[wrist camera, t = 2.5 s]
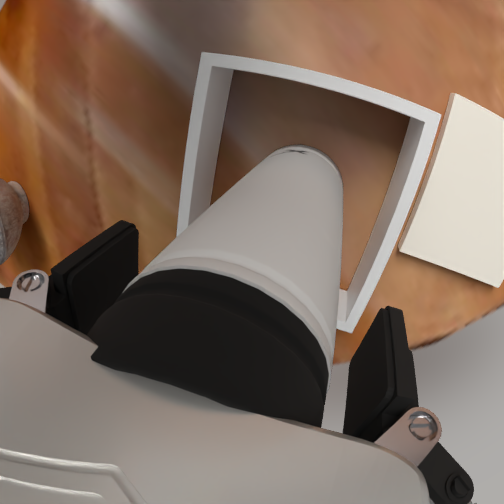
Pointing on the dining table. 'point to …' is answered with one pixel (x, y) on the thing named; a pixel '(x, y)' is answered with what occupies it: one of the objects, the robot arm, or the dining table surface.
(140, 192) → the dining table surface
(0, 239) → the pottery
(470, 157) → the pad
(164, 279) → the travel mug
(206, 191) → the bin
